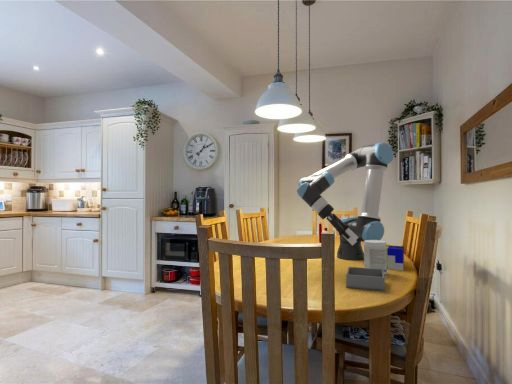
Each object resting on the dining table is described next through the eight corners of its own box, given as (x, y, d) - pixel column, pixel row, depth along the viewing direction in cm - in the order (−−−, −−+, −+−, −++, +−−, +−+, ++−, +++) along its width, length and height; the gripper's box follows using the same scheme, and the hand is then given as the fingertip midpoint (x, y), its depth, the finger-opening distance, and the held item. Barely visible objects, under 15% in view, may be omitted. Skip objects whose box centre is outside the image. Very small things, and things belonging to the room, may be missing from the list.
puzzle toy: (402, 270, 143) (402, 249, 143) (380, 268, 148) (380, 247, 148) (404, 266, 152) (403, 246, 152) (382, 264, 156) (382, 244, 157)
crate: (348, 278, 129) (348, 266, 129) (383, 281, 124) (383, 269, 124) (346, 287, 116) (346, 274, 116) (384, 291, 111) (384, 277, 112)
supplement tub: (391, 274, 136) (391, 241, 136) (378, 277, 131) (378, 243, 131) (372, 269, 144) (372, 239, 144) (359, 272, 139) (359, 240, 139)
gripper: (321, 212, 158) (351, 243, 153) (312, 215, 135) (347, 251, 129) (331, 202, 157) (362, 232, 151) (324, 203, 133) (360, 239, 128)
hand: (355, 241), depth 140 cm, fingers open, 13 cm apart
